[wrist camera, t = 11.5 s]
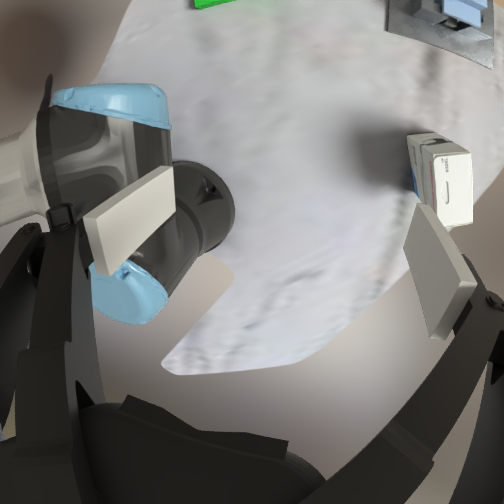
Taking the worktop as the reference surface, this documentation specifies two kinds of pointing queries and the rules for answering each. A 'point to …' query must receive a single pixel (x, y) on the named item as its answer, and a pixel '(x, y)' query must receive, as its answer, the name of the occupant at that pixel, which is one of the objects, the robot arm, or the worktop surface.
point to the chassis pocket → (444, 29)
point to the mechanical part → (209, 3)
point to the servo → (462, 11)
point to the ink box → (442, 177)
